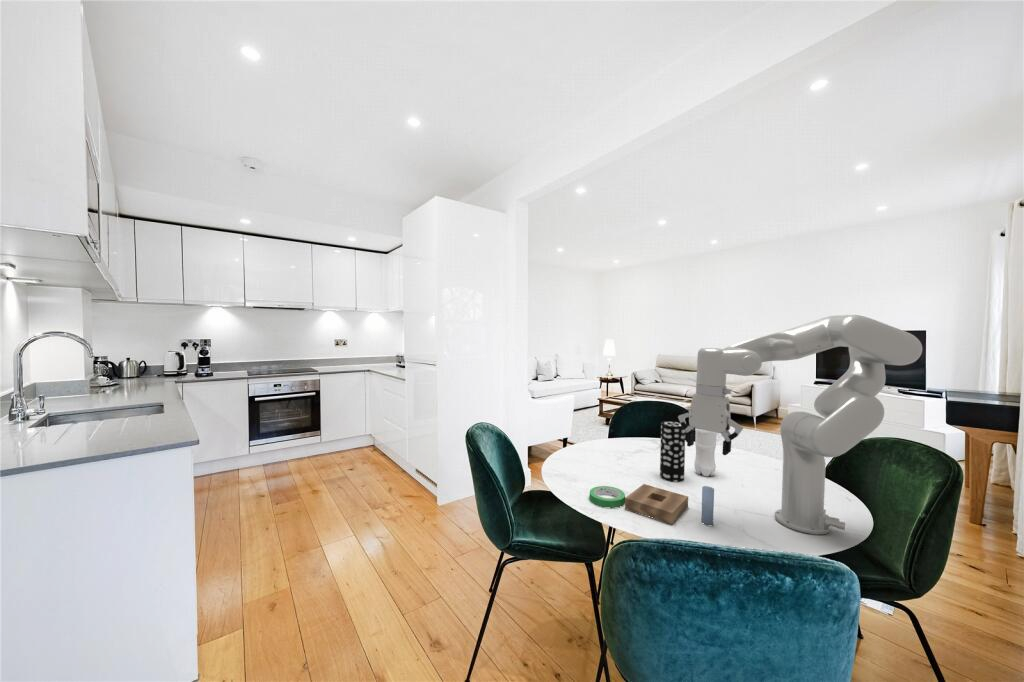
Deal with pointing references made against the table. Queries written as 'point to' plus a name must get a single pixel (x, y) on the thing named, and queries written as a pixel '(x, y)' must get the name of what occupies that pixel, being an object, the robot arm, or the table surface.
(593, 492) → the tape roll
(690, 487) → the table surface
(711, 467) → the water bottle
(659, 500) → the block
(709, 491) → the peg
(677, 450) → the white-spotted black cylinder
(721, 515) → the table surface
